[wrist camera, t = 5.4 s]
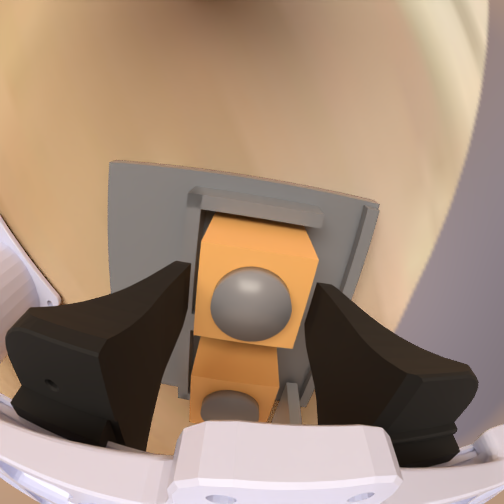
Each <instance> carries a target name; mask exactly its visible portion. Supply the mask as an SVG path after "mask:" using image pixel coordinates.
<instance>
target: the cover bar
mask: <svg viewBox="0 0 504 504" xmlns="http://www.w3.org/2000/svg"><path fill="white" fill-rule="evenodd" d="M271 423H278V424H298V425H302V418H301V410H300V401H299V393H298V385H297V383H287V382H286V385H285V388H284V391H283V393H282V396H281V399H280V401H279V404H278V406H277V409H276V412H275V414H274V417H273V419H272V422H271Z"/></svg>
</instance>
